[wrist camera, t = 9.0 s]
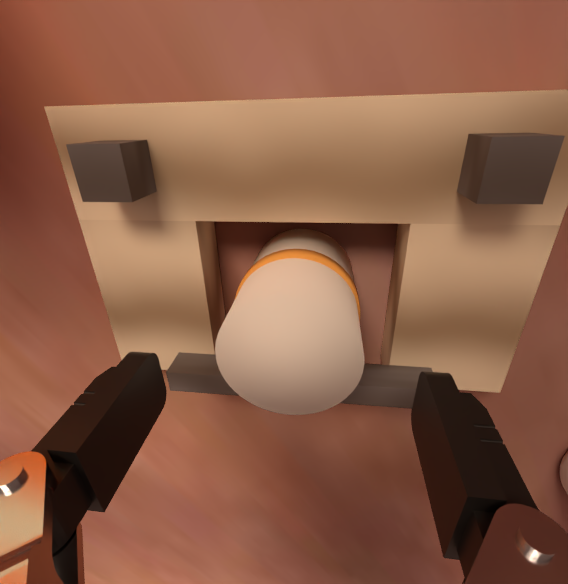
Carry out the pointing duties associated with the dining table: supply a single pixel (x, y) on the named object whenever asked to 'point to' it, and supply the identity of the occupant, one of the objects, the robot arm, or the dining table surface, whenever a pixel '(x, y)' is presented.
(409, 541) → the dining table surface
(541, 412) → the dining table surface
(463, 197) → the shelf board
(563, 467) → the milk bottle
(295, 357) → the orange-banded white cylinder
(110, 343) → the dining table surface
